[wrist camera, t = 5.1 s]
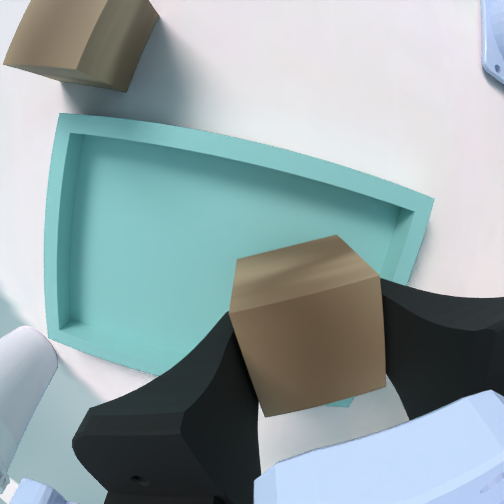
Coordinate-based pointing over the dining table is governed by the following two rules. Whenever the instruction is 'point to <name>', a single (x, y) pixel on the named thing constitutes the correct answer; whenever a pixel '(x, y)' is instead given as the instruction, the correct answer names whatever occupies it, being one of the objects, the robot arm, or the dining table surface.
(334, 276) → the block
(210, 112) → the dining table surface
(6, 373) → the smoothie
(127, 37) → the block
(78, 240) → the tray
